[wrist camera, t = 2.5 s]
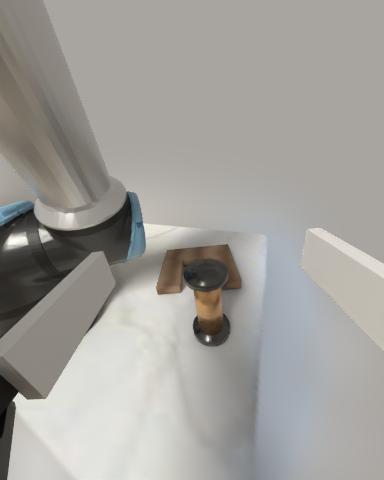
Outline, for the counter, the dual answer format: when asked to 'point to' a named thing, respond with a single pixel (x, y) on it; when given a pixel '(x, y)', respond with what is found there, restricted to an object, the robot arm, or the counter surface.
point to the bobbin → (208, 300)
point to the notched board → (183, 257)
